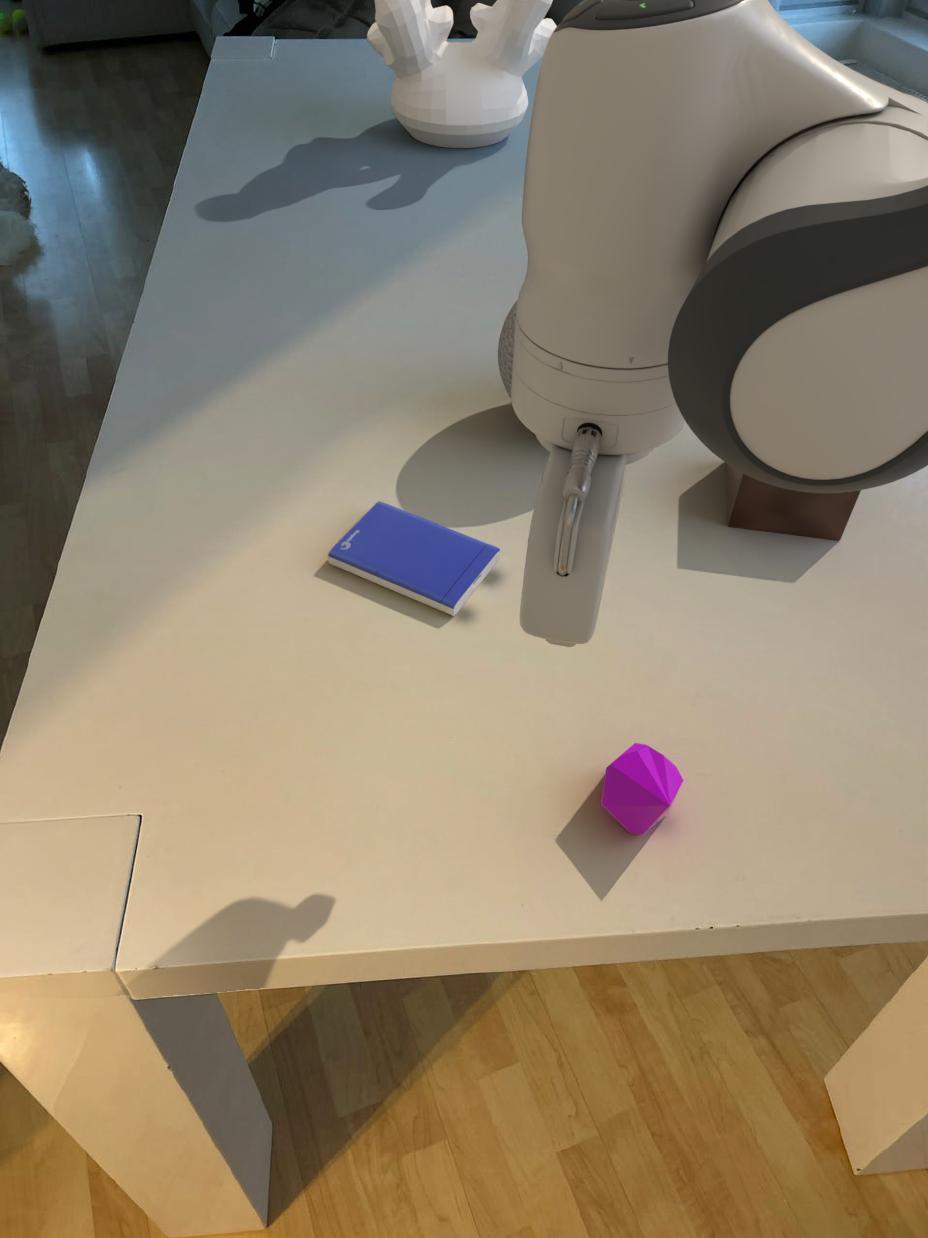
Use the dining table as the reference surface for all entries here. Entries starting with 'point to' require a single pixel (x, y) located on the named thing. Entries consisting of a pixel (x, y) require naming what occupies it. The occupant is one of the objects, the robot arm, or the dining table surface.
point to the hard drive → (415, 557)
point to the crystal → (640, 788)
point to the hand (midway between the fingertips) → (575, 578)
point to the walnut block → (786, 508)
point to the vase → (460, 67)
